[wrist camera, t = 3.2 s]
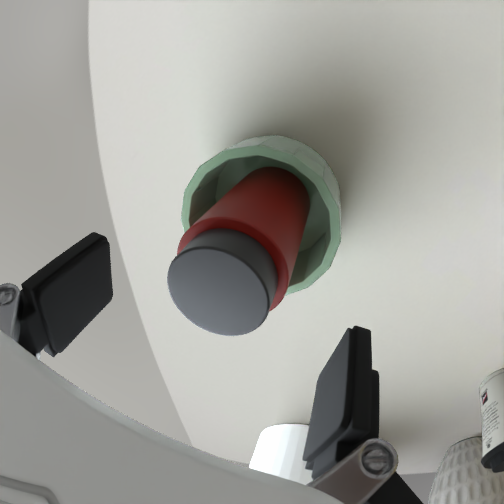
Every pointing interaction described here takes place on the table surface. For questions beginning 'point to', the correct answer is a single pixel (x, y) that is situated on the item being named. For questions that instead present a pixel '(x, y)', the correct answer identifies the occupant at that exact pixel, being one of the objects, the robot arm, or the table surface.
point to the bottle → (283, 452)
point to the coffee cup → (493, 421)
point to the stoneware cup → (295, 161)
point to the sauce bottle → (241, 253)
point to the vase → (466, 477)
